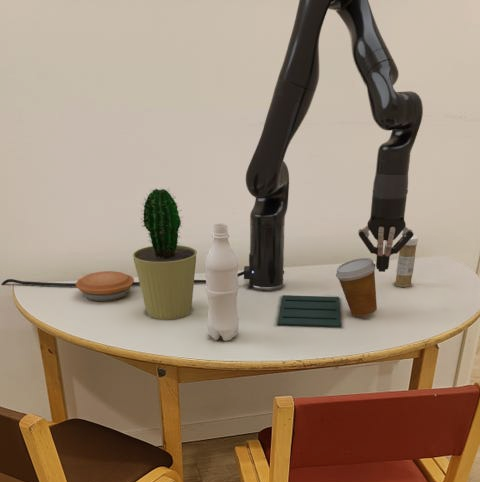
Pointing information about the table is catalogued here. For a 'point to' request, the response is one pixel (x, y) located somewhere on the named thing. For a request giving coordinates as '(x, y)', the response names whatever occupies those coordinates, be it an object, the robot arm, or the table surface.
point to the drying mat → (310, 311)
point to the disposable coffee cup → (358, 285)
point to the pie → (105, 285)
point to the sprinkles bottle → (406, 263)
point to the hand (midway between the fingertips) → (381, 270)
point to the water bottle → (222, 286)
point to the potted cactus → (165, 260)
